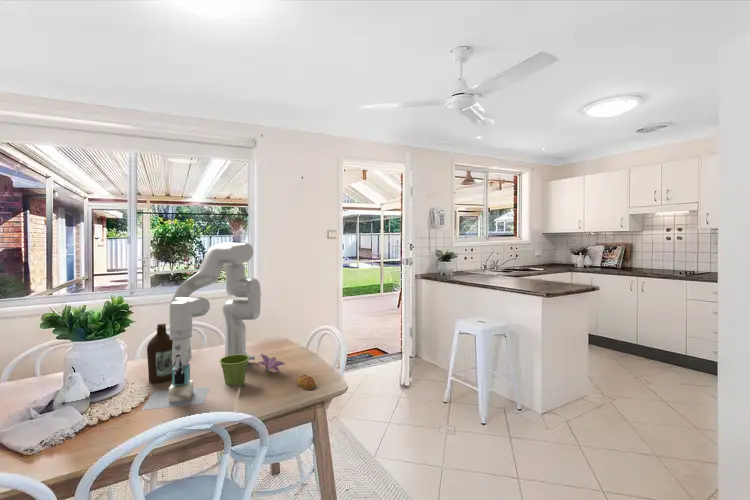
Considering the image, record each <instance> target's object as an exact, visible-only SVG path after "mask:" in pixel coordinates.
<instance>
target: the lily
mask: <svg viewBox="0 0 750 500" xmlns="http://www.w3.org/2000/svg"><path fill="white" fill-rule="evenodd" d="M260 356H261V359H262V361H258V362H257V364H259V365H262V366H264V367H265V368H264V370H265V371H267V372H266V377H267V378H268V377H269V372H270V370H272V369H273V370H275V371H277V372H279V371H280V368H279V367H281V366H283V365H285V366H286V364H287V363H285V362H283V361H281V360H277V357H276V356H273V357H269V356H268V355H266V354H264V353H260ZM280 372H281V371H280Z"/></svg>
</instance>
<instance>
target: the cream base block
mask: <svg viewBox="0 0 750 500" xmlns="http://www.w3.org/2000/svg"><path fill="white" fill-rule="evenodd" d="M193 388H194V379H190V380H189V382H188V384H183V385H172V383H171V384H170V386H169V387H168V390H169V402H174V401H184V400H190V398H191V396H192V394H193Z"/></svg>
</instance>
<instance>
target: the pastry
mask: <svg viewBox="0 0 750 500" xmlns="http://www.w3.org/2000/svg"><path fill="white" fill-rule="evenodd" d="M296 384H297V386H298V387H299V388H301V387H302V388H301V389H303V388H304V390H308V391H309V390H311V389H314V388H316V386H317V385H316V381H315V379H314V378H313V377H312V376H311V375H307V374H301V375H300V376H299V377H298V378H297V380H296Z"/></svg>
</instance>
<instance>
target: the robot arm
mask: <svg viewBox="0 0 750 500" xmlns="http://www.w3.org/2000/svg"><path fill="white" fill-rule="evenodd" d="M253 255H254V248H253V246H252V245H251V244H250V243H248V242H221V243H218V244H217V245H214V246H210V247H209V248H208V250H207V251H206V253H205V256H204V257H203V259H202V261H201V263H200V265H199V268H198V270H197V272H196V273H194V274H193V275H191V276H190V277H188V278H187V279H186V280H185V281H183V282H182V283H181V284H180V285H179V286H178V288H177V289H176V290H175V292H174V295H173V296H172V297H173V298H172V299H171V302H170V304H169V336H170V339H171V340H173V344H172V365H173V366H175V385H177V384H184V373H183V371H184V365H185V366H186V365H187V364H190V363H189V362H190V361H191V360H192V355H193V354H192V340H191V339H192V337H193V318H198V317H204V316H205V315H207V314H208V313H209V311H210V309H211V304H210V301H209V300H208V299H206V298H205V297H200V296H199V297H198V296H191V295H192V294H193V293H194V292H196V291H197V290H199V289H202V288H205V287H207V286H210V285H213V284H214V283H216V282H217V281H218V279H219V277H220V275H221V272H222V270H223V268H224V267H225V273H226V274H225V275H226V277H225V278H226V283H225V284H226V285H225V286H226V287H225V288H226V294H227V295H228V296H229V297H231V298H232V297H233V298H245V299H228V300H226V301H225V302H224V303H223V305H222V314H223V318H224V319H223V320H224V357H225V356H229V355H236V354H243V355H247V356H249V357H250V358H249V360H248V363H247V365H249V363H250V360H252V361H253V360H256V355H254V354H248V352H247V349H246V348H247V345H246V343H247V338H246V336H247V335H246V334H247V333H246V332H247V328H246V324H245V322H244V321H255V320H257V319H258V318H259V317H260V314H261V299H262V297H261V293H262V291H261V284H260V281H259V280H258V279H257V278H254V277H246V272H245V265H244V263H246V262H249V261H250V260H252V258H253ZM246 298H247V299H246ZM181 364H182V365H181ZM180 367H182V368H180Z"/></svg>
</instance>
